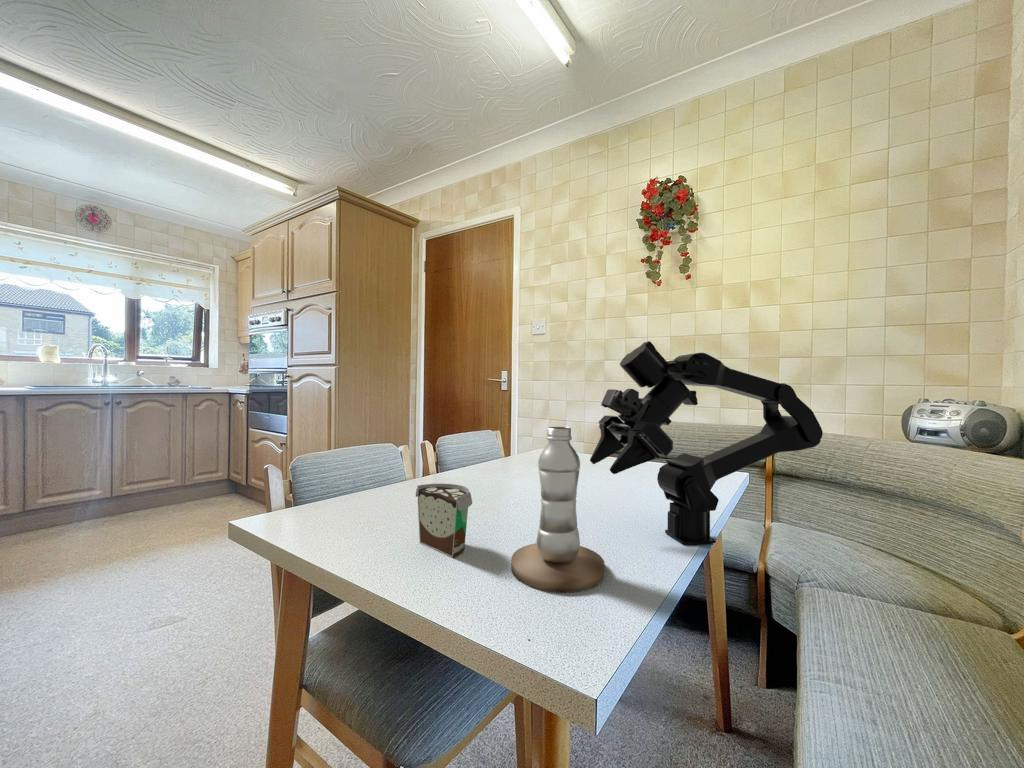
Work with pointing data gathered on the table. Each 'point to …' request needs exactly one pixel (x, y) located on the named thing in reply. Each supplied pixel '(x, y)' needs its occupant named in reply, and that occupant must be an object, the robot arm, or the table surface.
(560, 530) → the plastic bottle
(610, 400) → the robot arm
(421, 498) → the food container
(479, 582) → the table surface
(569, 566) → the walnut stand
